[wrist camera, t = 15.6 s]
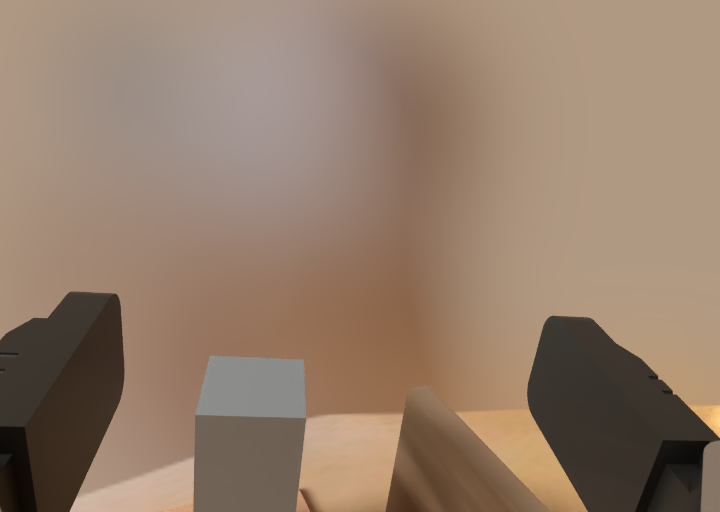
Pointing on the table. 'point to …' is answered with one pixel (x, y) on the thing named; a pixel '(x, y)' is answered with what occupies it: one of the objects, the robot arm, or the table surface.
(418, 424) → the walnut screen
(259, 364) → the slate block
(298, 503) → the terracotta tile
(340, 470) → the table surface
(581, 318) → the robot arm
